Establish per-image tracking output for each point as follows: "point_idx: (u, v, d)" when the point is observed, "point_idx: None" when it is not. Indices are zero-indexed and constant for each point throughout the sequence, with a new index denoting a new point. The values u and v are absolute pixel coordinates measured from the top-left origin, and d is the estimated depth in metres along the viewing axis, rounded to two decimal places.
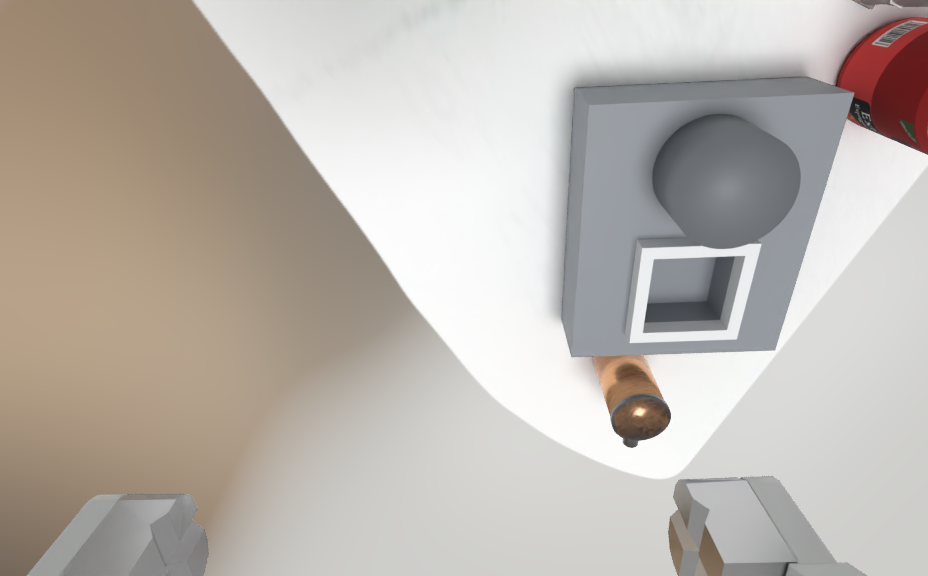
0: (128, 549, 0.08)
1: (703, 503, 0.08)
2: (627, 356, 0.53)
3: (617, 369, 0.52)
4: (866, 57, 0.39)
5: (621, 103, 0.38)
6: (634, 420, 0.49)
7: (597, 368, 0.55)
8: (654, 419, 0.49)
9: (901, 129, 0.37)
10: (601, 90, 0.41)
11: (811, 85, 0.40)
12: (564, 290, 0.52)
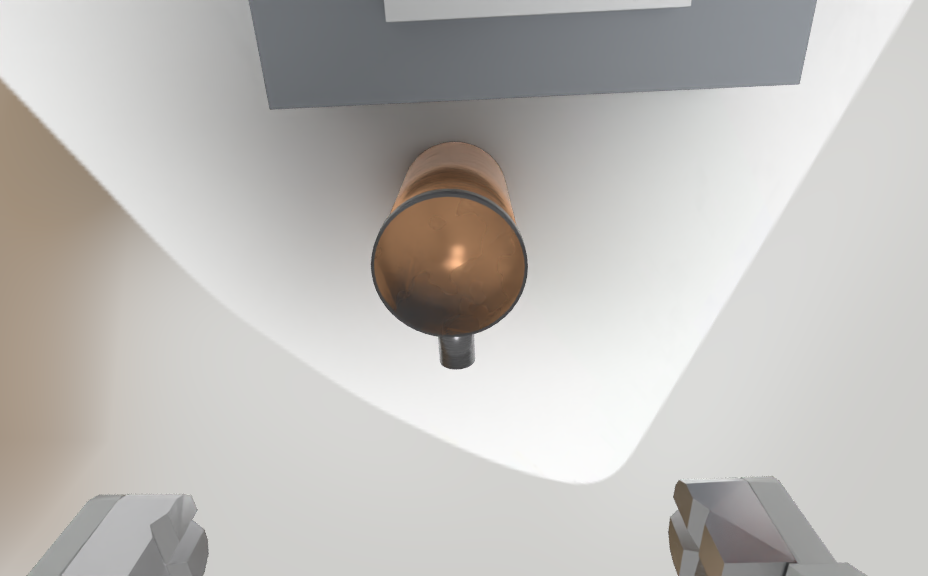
0: (128, 549, 0.08)
1: (703, 503, 0.08)
2: (451, 156, 0.22)
3: (417, 174, 0.21)
4: None
5: None
6: (431, 270, 0.18)
7: None
8: (484, 269, 0.18)
9: None
10: None
11: None
12: None
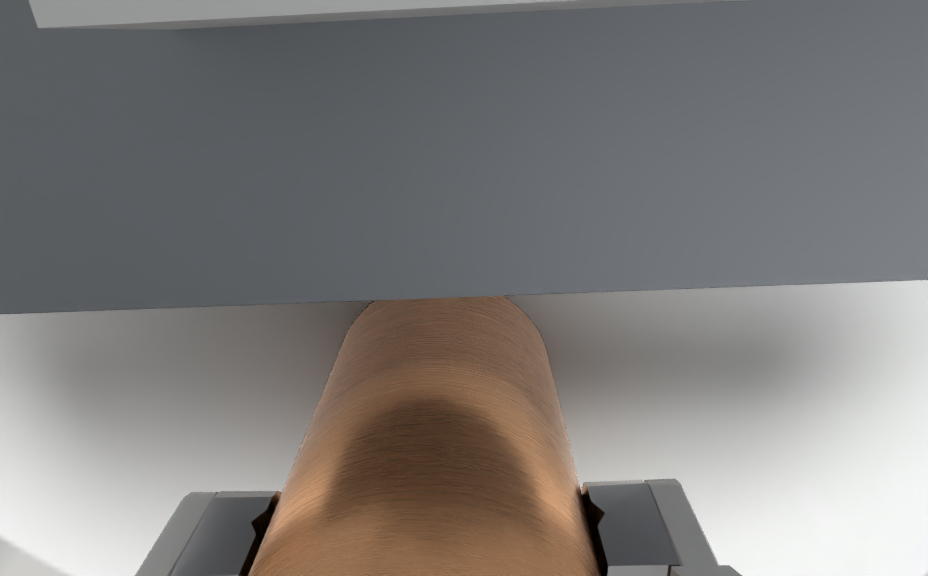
0: (234, 546, 0.08)
1: (601, 506, 0.08)
2: (430, 353, 0.09)
3: (336, 430, 0.08)
4: None
5: None
6: None
7: None
8: None
9: None
10: None
11: None
12: None
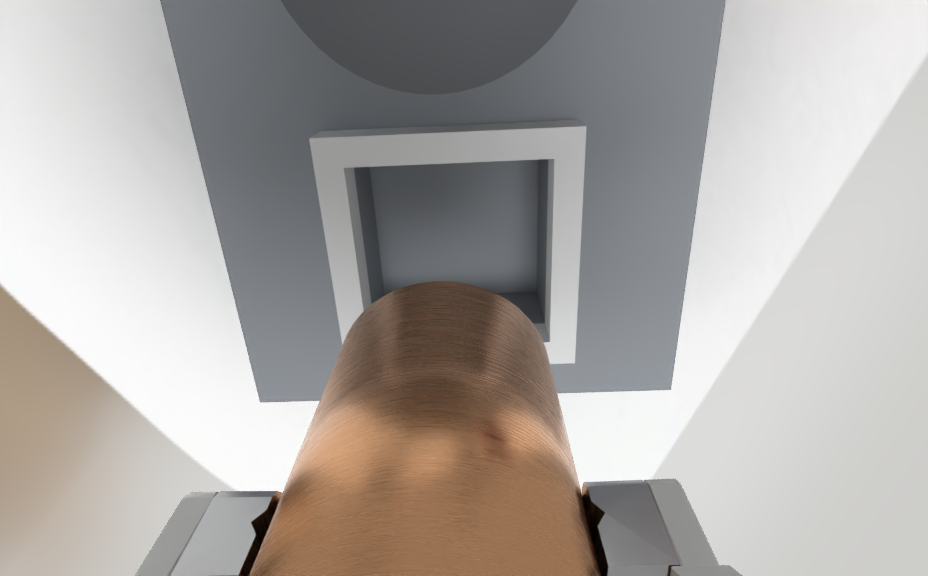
0: (234, 546, 0.08)
1: (601, 506, 0.08)
2: (430, 355, 0.09)
3: (336, 432, 0.08)
4: None
5: None
6: None
7: None
8: None
9: None
10: None
11: None
12: None
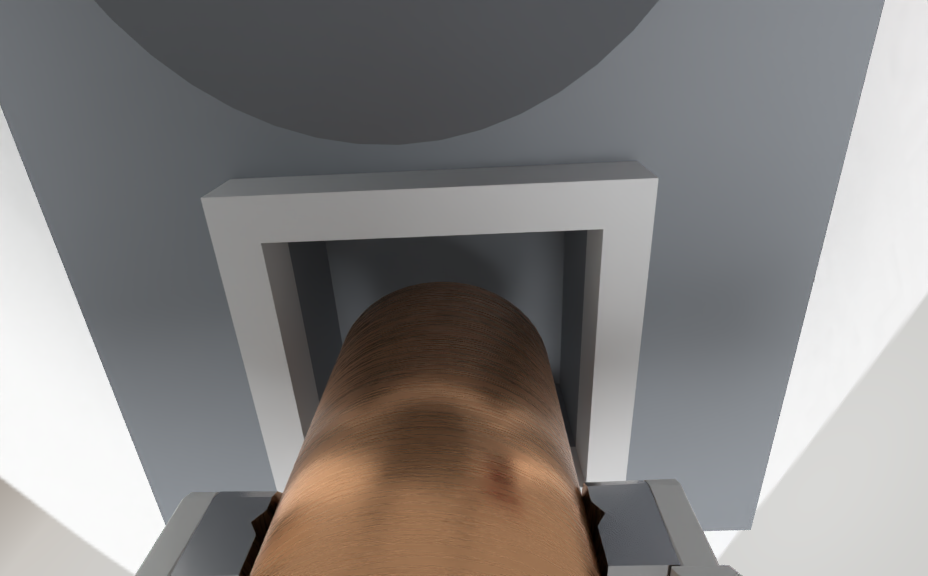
0: (234, 546, 0.08)
1: (600, 506, 0.08)
2: (431, 356, 0.09)
3: (336, 433, 0.08)
4: None
5: None
6: None
7: None
8: None
9: None
10: None
11: None
12: None
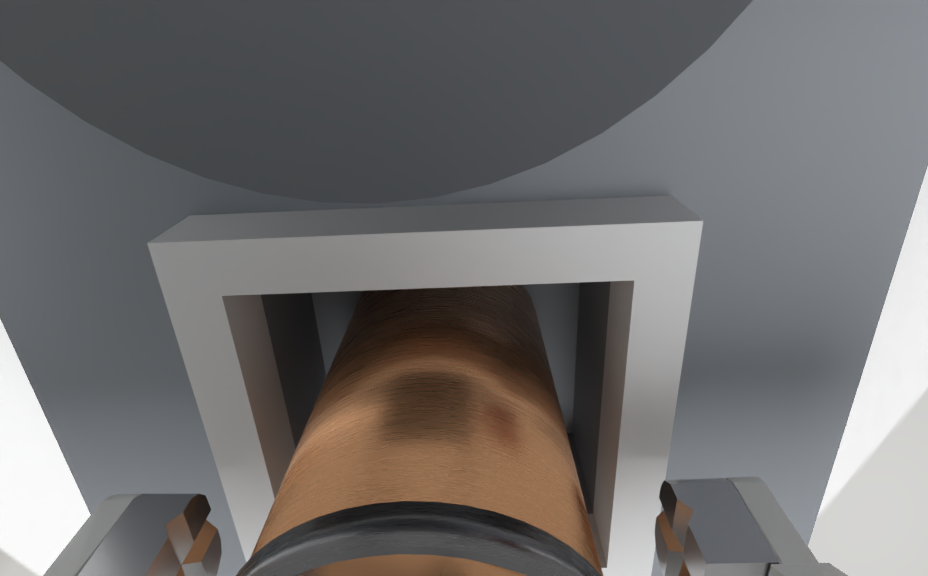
0: (144, 549, 0.08)
1: (687, 504, 0.08)
2: (435, 299, 0.11)
3: (358, 355, 0.10)
4: None
5: None
6: None
7: None
8: None
9: None
10: None
11: None
12: None
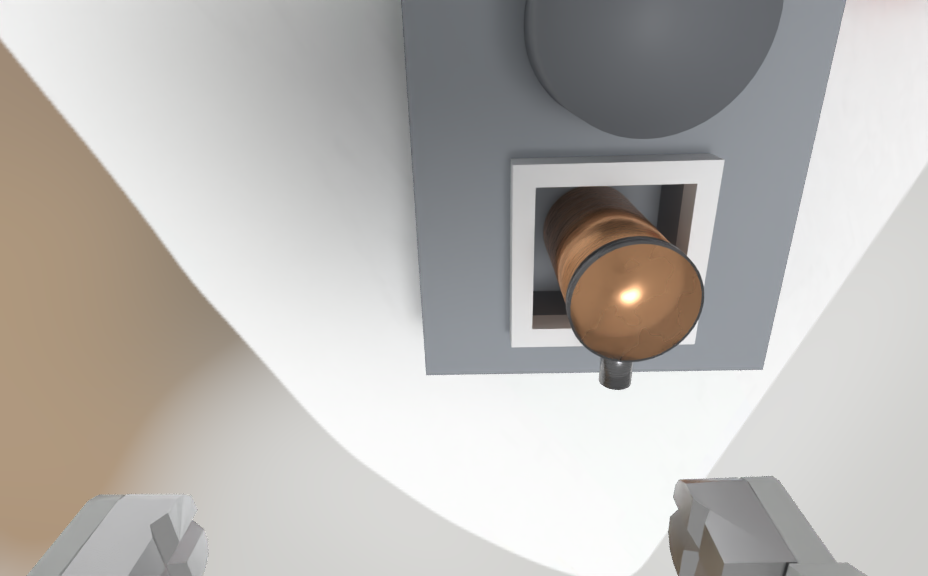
0: (128, 549, 0.08)
1: (703, 503, 0.08)
2: (607, 200, 0.25)
3: (583, 217, 0.24)
4: None
5: None
6: (619, 305, 0.21)
7: (548, 240, 0.27)
8: (665, 305, 0.21)
9: None
10: None
11: None
12: None
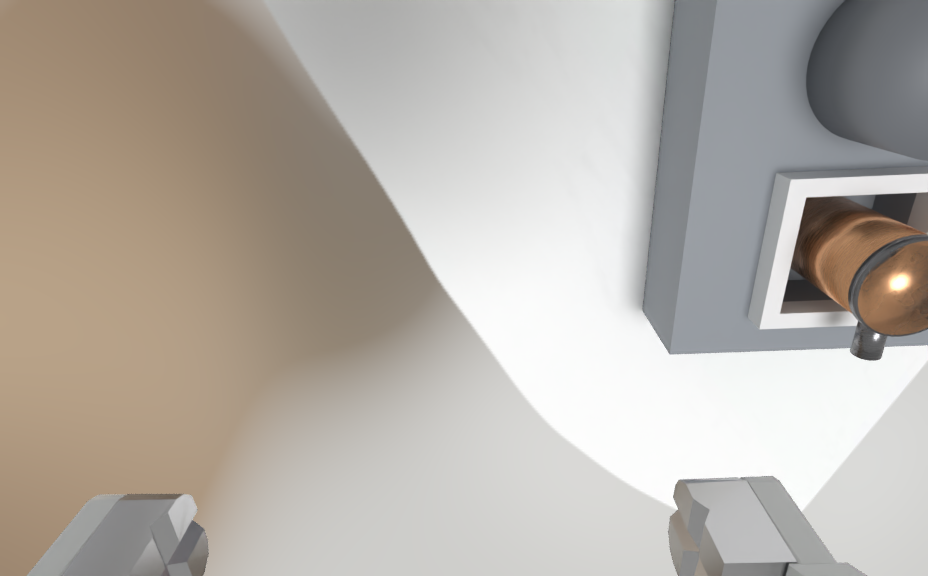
0: (128, 549, 0.08)
1: (703, 503, 0.08)
2: (849, 204, 0.31)
3: (839, 219, 0.29)
4: None
5: None
6: (899, 290, 0.26)
7: None
8: None
9: None
10: None
11: None
12: (650, 267, 0.38)
